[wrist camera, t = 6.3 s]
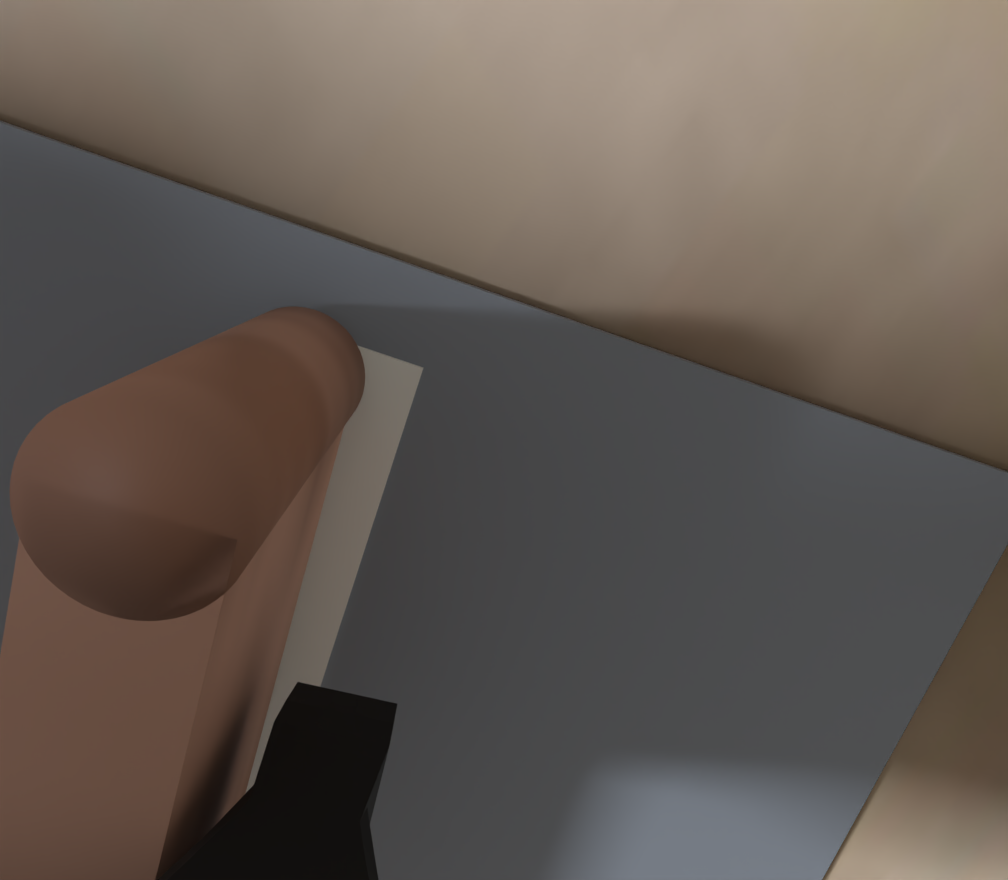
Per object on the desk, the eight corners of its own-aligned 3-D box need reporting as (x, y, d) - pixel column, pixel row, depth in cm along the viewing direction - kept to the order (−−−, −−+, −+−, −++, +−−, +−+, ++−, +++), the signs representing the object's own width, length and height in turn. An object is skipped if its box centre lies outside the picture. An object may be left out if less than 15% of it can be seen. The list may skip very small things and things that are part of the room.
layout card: (-601, 1085, 12) (-624, 1104, 12) (-633, -101, 8) (-671, -111, 8) (559, 1336, 14) (560, 1358, 13) (1029, 479, 10) (1043, 486, 9)
